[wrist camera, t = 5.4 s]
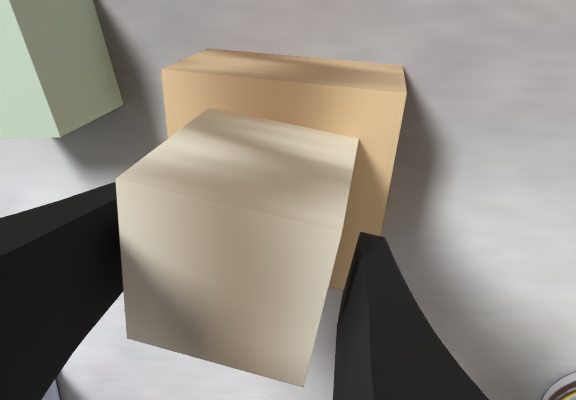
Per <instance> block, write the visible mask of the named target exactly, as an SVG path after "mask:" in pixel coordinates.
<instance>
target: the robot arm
mask: <svg viewBox="0 0 576 400" xmlns="http://www.w3.org/2000/svg"><path fill="white" fill-rule="evenodd" d="M123 291H124V290H123V276H122V262H121V249H120V235H119V221H118V208H117V194H116V182H114V183H111V184H107V185H104V186H101V187H98V188H95V189H92V190H90V191H87V192H84V193H81V194H78V195H75V196H72V197H69V198H66V199H63V200H60V201H57V202H53V203H50V204H47V205H43V206H40V207H37V208H33V209H30V210H27V211H23V212H20V213H17V214H13V215H9V216H6V217H2V218H0V400H59V395H58V390H57V385H56V380H55V379H56V377H57V376H58V374H59V373H60V371H61V370H62V368H63V367H64V365H65V364H66V362H67V361H68V359H69V358H70V356H71V355H72V353H73V352H74V351H75V349H76V348H77V347H78V346H79V344H80V343H81V342H82V340H83V339H84V338H85V337H86V335H87V334H88V333H89V332H90V331H91V329H92V328H93V327H94V326H95V325H96V323H97V322H98V321H99V320H100V318H101V317H102V316H103V315H104V314H105V312H106V311H107V310H108V309H109V308H110V306H111V305H112V304H113V303H114V302H115V300H116V299H117V298H118V297H119V296H120V294H121V293H122V292H123ZM333 400H489V399H488V398H487V397H486V396H485V395H484V393H483V392H482V391H481V390H480V389H479V388H478V387H477V385H476V384H475V383H474V382H473V381H472V380H471V379H470V377H469V376H468V375H467V374H466V373H465V372H464V370H463V369H462V368H461V367H460V365H459V364H458V363H457V362H456V360H455V359H454V358H453V356H452V355H451V354H450V352H449V351H448V350H447V348H446V347H445V346H444V344H443V343H442V342H441V340H440V339H439V338H438V336H437V335H436V333H435V332H434V330H433V329H432V327H431V326H430V324H429V323H428V321H427V319H426V318H425V316H424V314H423V313H422V311H421V310H420V308H419V306H418V304H417V303H416V301H415V299H414V297H413V295H412V294H411V292H410V290H409V288H408V286H407V284H406V282H405V280H404V278H403V276H402V274H401V272H400V270H399V268H398V266H397V264H396V262H395V259H394V257H393V255H392V252H391V250H390V248H389V245H388V243H387V241H386V239H385V238H384V237H381V236H377V235H373V234H368V233H364V232H360V234H359V237H358V241H357V244H356V248H355V251H354V255H353V259H352V262H351V266H350V269H349V273H348V276H347V280H346V284H345V287H344V291H343V295H342V301H341V307H340V312H339V318H338V324H337V335H336V353H335V371H334V390H333Z"/></svg>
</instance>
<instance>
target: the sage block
mask: <svg viewBox="0 0 576 400" xmlns="http://www.w3.org/2000/svg"><path fill="white" fill-rule="evenodd" d="M122 105H124V104H123V101H122V97H121V94H120V90H119V87H118V84H117V80H116V77H115V73H114V70H113V66H112V63H111V60H110V56H109V53H108V49H107V46H106V42H105V39H104V36H103V32H102V29H101V25H100V22H99V18H98V15H97V12H96V8H95V5H94V1H93V0H0V140H7V139H30V138H53V137H62V136H64V135H66V134H68V133H70V132H72V131H73V130H75V129H77V128H79V127H81V126H83V125H85V124H87V123H89V122H91V121H93V120H95V119H97V118H99V117H101V116H103V115H105V114H107V113H109V112H111V111H113V110H114V109H116V108H118V107H120V106H122Z"/></svg>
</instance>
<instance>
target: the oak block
mask: <svg viewBox="0 0 576 400" xmlns="http://www.w3.org/2000/svg"><path fill="white" fill-rule="evenodd" d="M161 74H162V84H163V94H164V105H165V115H166V125H167V135H168V138H169V137H171V136H172V135H173V134H175V133H176V132H177V131H179V130H180V129H181V128H183V127H184V126H185V125H187V124H188V123H189V122H190V121H192V120H193V119H194V118H196V117H197V116H198V115H200V114H201V113H202V112H204V111H205V110H206V109H208V108H209V107H210V108H215V109H220V110H225V111H230V112H234V113H239V114H244V115H249V116H254V117H258V118H263V119H268V120H273V121H277V122H282V123H287V124H292V125H297V126H301V127H306V128H311V129H316V130H320V131H325V132H330V133H335V134H340V135H344V136H349V137H354V138H359V140H358V146H357V151H356V157H355V162H354V168H353V173H352V179H351V185H350V190H349V196H348V201H347V207H346V213H345V218H344V224H343V229H342V234H341V238H340V242H339V246H338V250H337V254H336V258H335V262H334V266H333V270H332V274H331V278H330V282H329V286H328V288H334V289H340V290H344V287H345V284H346V280H347V276H348V273H349V269H350V266H351V262H352V259H353V255H354V251H355V248H356V244H357V241H358V237H359V234H360V232H364V233H368V234H373V235H377V236H381V231H382V226H383V220H384V215H385V209H386V204H387V198H388V193H389V187H390V182H391V177H392V171H393V166H394V160H395V155H396V149H397V144H398V139H399V133H400V128H401V122H402V117H403V111H404V106H405V100H406V95H407V91H406V84H405V77H404V70H403V66H401V65H390V64H379V63H367V62H356V61H344V60H333V59H321V58H310V57H298V56H287V55H275V54H264V53H253V52H241V51H230V50H218V49H206V50H204V51H201V52H199V53H197V54H195V55H192V56H190V57H188V58H185V59H183V60H181V61H179V62H176V63H174V64H172V65H169V66H167V67H165V68H162V69H161Z"/></svg>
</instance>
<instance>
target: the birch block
mask: <svg viewBox="0 0 576 400" xmlns="http://www.w3.org/2000/svg"><path fill="white" fill-rule="evenodd" d="M358 140H359V138H354V137H349V136H344V135H340V134H335V133H330V132H325V131H320V130H316V129H311V128H306V127H301V126H297V125H292V124H287V123H282V122H277V121H273V120H268V119H263V118H258V117H254V116H249V115H244V114H239V113H234V112H230V111H225V110H220V109H215V108H210V107H209V108H208V109H206V110H205V111H204V112H202V113H201V114H200V115H198V116H197V117H196V118H194V119H193V120H192V121H190V122H189V123H188V124H187V125H185V126H184V127H183V128H181V129H180V130H179V131H177V132H176V133H175V134H173V135H172V136H171V137H169V138H168V139H167V140H165V141H164V142H163V143H162V144H160V145H159V146H158V147H156V148H155V149H154V150H152V151H151V152H150V153H148V154H147V155H146V156H144V157H143V158H142V159H141V160H139V161H138V162H137V163H135V164H134V165H133V166H131V167H130V168H129V169H127V170H126V171H125V172H123V173H122V174H121V175H120V176H118V177H117V178H116V179H115V180H116V194H117V208H118V221H119V235H120V249H121V262H122V276H123V290H124V303H125V317H126V331H127V338H128V339H132V340H135V341H139V342H142V343H146V344H149V345H153V346H157V347H160V348H164V349H167V350H171V351H175V352H178V353H182V354H185V355H189V356H192V357H196V358H200V359H203V360H207V361H210V362H214V363H217V364H221V365H225V366H228V367H232V368H235V369H239V370H243V371H246V372H250V373H253V374H257V375H260V376H264V377H268V378H271V379H275V380H278V381H282V382H286V383H289V384H293V385H296V386H300V387H304V383H305V379H306V375H307V371H308V367H309V363H310V359H311V355H312V351H313V347H314V343H315V339H316V335H317V331H318V327H319V323H320V318H321V314H322V310H323V306H324V302H325V298H326V294H327V290H328V286H329V282H330V278H331V274H332V270H333V266H334V262H335V258H336V254H337V250H338V246H339V242H340V238H341V234H342V229H343V224H344V218H345V213H346V207H347V201H348V196H349V190H350V185H351V179H352V173H353V168H354V162H355V157H356V151H357V146H358Z"/></svg>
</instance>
